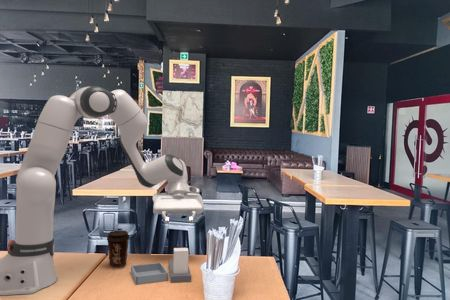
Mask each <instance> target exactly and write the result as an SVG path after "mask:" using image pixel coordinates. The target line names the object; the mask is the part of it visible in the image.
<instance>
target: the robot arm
mask: <svg viewBox="0 0 450 300" xmlns="http://www.w3.org/2000/svg"><path fill="white" fill-rule="evenodd" d="M105 116H108V117H109V118H110V119H111V120H112V121H113V123H114V124H115V125H116V127H117V128H118V130H119V133H120V136H119V138H118V140H119V143H120V146H121V149H122V150H123V153H124V155H125V156H126V158H127V160H128V162H129V164H130V165H131V168H132V169H133V170H134V171H133V172H134V173H135V176H136V178H137V181H138V183H139V184H140V185H141V186H143V187H145V188H148V189H150V188H154V187H155V186H156V185H158V184H160V183H162V182H165V181H167V188H166V189H167V192H157V193H154V194H153V195H152V200H151V201H152V202H153V205H152V206H153V207H152V212H153V214H154V215H161V216H162V219H163V220H164V223H165V224H169V222H170V220H169V219H170V217H169V216H167V215H191V216H188V217H189V218H188V223H189V224H191V223H192V224H193V223H194V218H195V217H196V215H199V214H200V215H201V214H202V213H203V212H204V209H205V205H204V204H205V203H204V201H203V197H202V195H201V194H200V188H198V187H195V186H191V185H189V183H188V180H189V179H188V177H189V176H188V169H187V165H186V163H185V161H183V160H182V159H180V158H178V157H176V156H175V155H173V154H170V153H167V154H164V155H161V156H160V157H158V158H155V159H153V160H152V161H149V162H145V161H144V160H143V158H142V156H141V154H140V152H139V150H138V148H137V143H138V142H139V141H140V140H141V138H142V137H143V136H144V135H145V133H146V131H147V128H148V125H149V124H148V118H147V116H146V115H145V113H144V112H143V110H142V108H141V107H140V106H139V105H138V103H137V101H135V100H134V99H133V98H132V96H131V95H130V94H129V93H127V91H125V90H123V89H115V90H112V91H109V90H107V89H106V88H103V87H101V86H95V85H94V86H84V87H81V88H78V89H76V90H74V91H73V92H72V93H71V94H69V95H68V96H65V95H61V94H59V95H58V94H57V95H52V96H51V97H50V98H48V100H47V101H46V103H45V105H44V107H43V108H42V111H41V112H40V114H39V116H38V117H39V118H38V119H37V122H36V124H35V125H36V126H35V128H34V131H33V133H32V136H31V138H30V142H29V144H28V147H27V149H26V151H25V154H24V156H23V160H22V162H21V164H20V166H19V170H18V172H17V175H16V178H15V184H16V199H15V200H16V203H15V204H16V205H15V231H14V236H15V238H14V239H11V240H9V241H8V243H7V253H6V255H5V256H3V257H1V258H0V296H6V295H7V296H9V295H13V296H14V295H25V294H27V295H30V294H34V293H36V292H38V291H39V290H41V289H44V288H47V287H50V286H52V285H53V284H54V283H56V281H58V276H57V273H56V269H55V262H54V255H55V239H54V237H53V236H54V213H55V212H54V211H55V204H56V191H57V190H56V188H57V181H56V178H55V175H56V174H57V171H58V169H59V167H60V164H61V162H62V160H63V158H64V157H65V153H66V151H67V148H68V146H69V145H68V144H69V143H70V139H71V138H72V137H71V136H72V133H73V131H74V128H75V125H76V123H77V121H78V119H80V118H87V119H88V118H89V119H95V118H96V119H97V118H103V117H105Z"/></svg>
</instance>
